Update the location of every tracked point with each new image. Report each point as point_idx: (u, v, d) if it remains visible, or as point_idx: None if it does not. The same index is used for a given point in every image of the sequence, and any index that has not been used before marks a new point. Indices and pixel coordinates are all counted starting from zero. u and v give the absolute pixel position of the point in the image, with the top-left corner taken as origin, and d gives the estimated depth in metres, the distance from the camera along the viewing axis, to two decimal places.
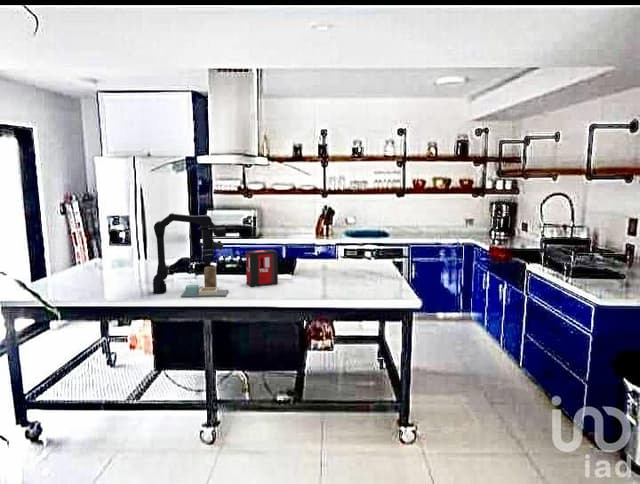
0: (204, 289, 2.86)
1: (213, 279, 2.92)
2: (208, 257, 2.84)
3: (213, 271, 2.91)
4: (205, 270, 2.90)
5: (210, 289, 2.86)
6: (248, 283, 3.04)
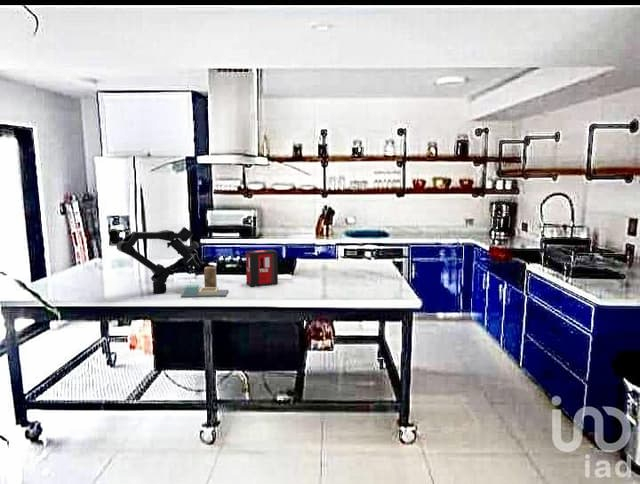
0: (204, 289, 2.86)
1: (213, 279, 2.92)
2: (192, 262, 2.86)
3: (213, 271, 2.91)
4: (205, 270, 2.90)
5: (210, 289, 2.86)
6: (248, 283, 3.04)
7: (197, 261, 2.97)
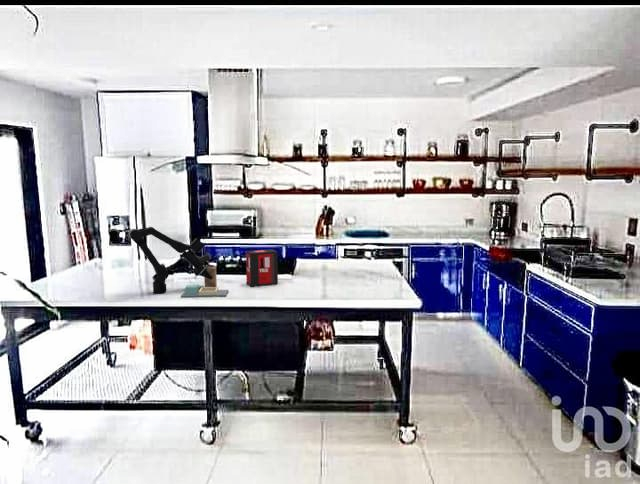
0: (204, 289, 2.86)
1: (213, 279, 2.92)
2: (204, 273, 2.89)
3: (213, 271, 2.91)
4: None
5: (210, 289, 2.86)
6: (248, 283, 3.04)
7: None
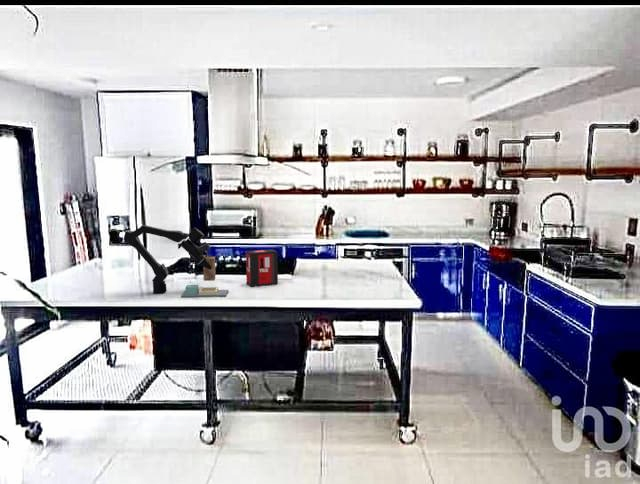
0: (204, 289, 2.86)
1: (212, 269, 2.86)
2: (204, 262, 2.83)
3: (212, 261, 2.85)
4: None
5: (210, 289, 2.86)
6: (248, 283, 3.04)
7: None
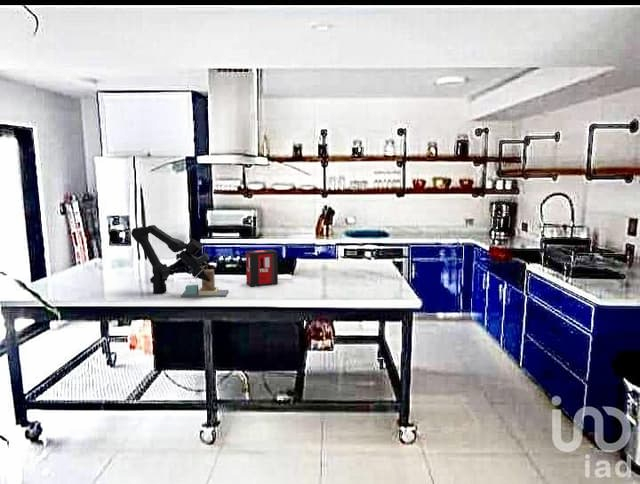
0: None
1: (211, 282, 2.79)
2: (202, 275, 2.75)
3: (211, 274, 2.78)
4: None
5: None
6: (248, 283, 3.04)
7: None
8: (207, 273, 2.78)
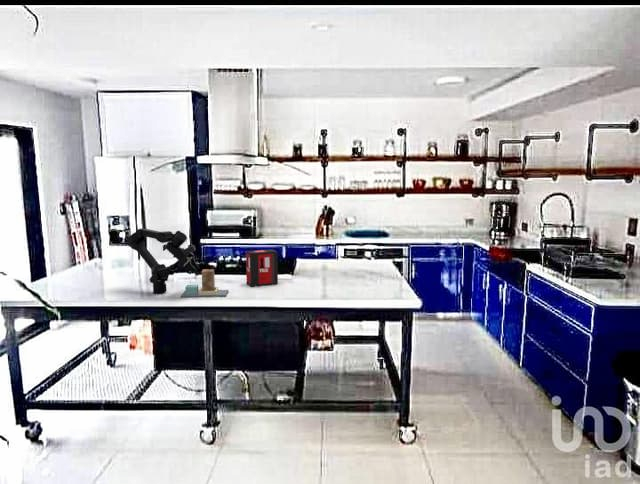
0: None
1: (211, 282, 2.79)
2: (188, 266, 2.74)
3: (211, 274, 2.78)
4: (203, 273, 2.77)
5: None
6: (248, 283, 3.04)
7: (194, 265, 2.84)
8: (207, 273, 2.78)
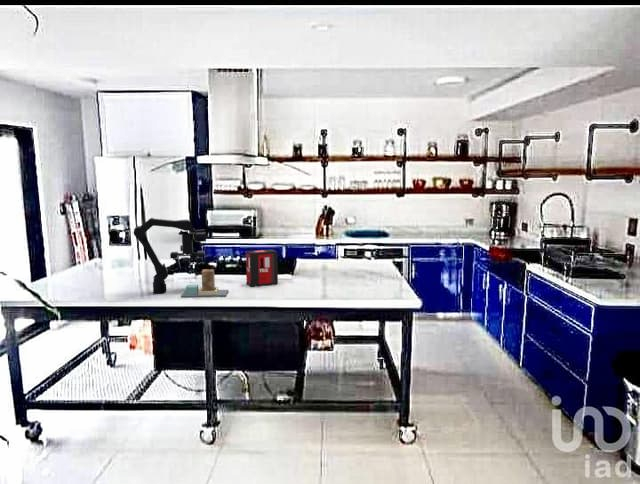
0: None
1: (211, 282, 2.79)
2: None
3: (211, 274, 2.78)
4: (203, 273, 2.77)
5: None
6: (248, 283, 3.04)
7: (179, 264, 2.88)
8: (207, 273, 2.78)
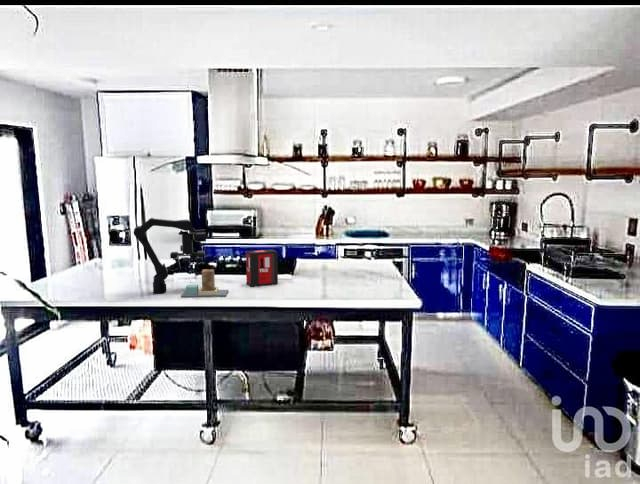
0: None
1: (211, 282, 2.79)
2: None
3: (211, 274, 2.78)
4: (203, 273, 2.77)
5: None
6: (248, 283, 3.04)
7: (179, 264, 2.89)
8: (207, 273, 2.78)
